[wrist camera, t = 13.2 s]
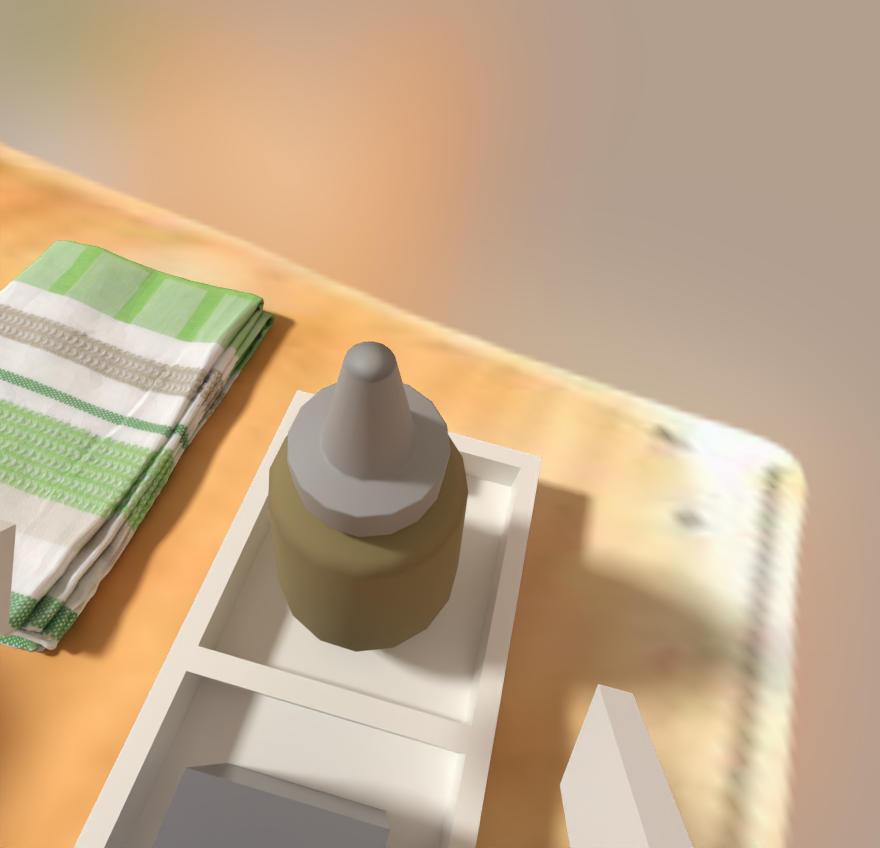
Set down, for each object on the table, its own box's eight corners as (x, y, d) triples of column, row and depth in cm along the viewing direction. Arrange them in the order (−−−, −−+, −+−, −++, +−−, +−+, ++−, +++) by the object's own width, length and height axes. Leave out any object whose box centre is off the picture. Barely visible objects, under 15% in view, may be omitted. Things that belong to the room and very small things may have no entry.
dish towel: (-253, 547, 26) (-333, 521, 23) (59, 251, 38) (33, 209, 35) (62, 666, 25) (20, 655, 22) (282, 323, 37) (275, 286, 34)
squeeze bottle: (306, 496, 29) (237, 219, 14) (452, 512, 30) (540, 262, 14) (271, 655, 25) (117, 507, 10) (442, 671, 26) (551, 555, 10)
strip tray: (-8, 1097, 18) (-83, 1165, 15) (304, 422, 33) (297, 389, 30) (390, 1229, 18) (393, 1326, 15) (526, 484, 32) (541, 457, 29)
